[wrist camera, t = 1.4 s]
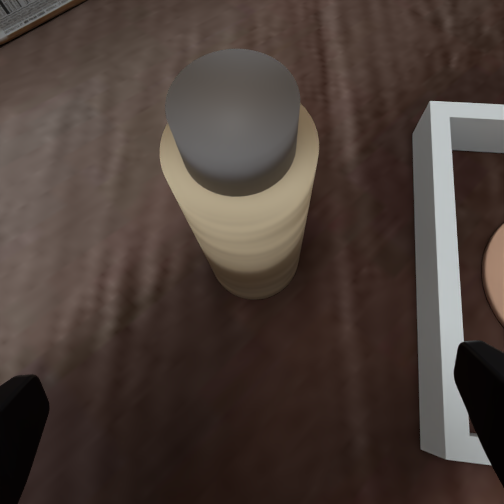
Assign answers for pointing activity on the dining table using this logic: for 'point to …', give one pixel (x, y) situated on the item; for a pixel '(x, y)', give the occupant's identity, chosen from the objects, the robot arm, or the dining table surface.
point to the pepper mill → (241, 166)
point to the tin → (28, 15)
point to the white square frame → (448, 269)
